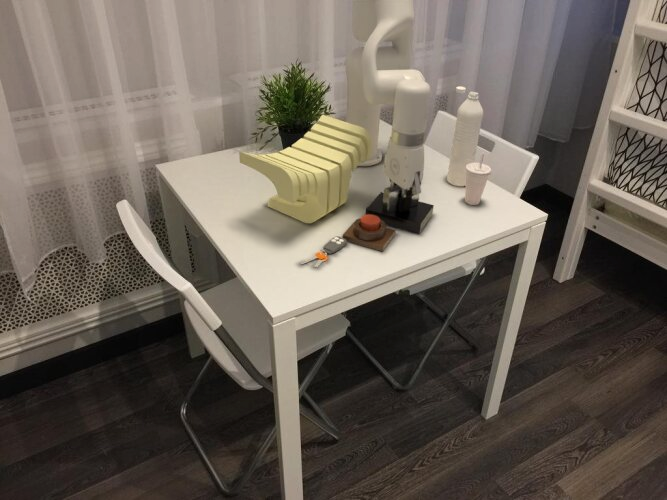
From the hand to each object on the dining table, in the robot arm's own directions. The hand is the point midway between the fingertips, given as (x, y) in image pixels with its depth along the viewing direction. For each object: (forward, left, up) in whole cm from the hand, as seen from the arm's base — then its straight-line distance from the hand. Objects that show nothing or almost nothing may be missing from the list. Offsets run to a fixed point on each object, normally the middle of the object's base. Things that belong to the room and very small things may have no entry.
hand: (400, 206), depth 143 cm
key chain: (-9, -23, -3) cm, 25 cm away
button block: (-3, -12, -3) cm, 13 cm away
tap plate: (0, 0, -3) cm, 3 cm away
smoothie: (+14, +17, -3) cm, 22 cm away
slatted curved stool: (-22, -6, -3) cm, 23 cm away
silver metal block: (0, 0, 0) cm, 0 cm away
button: (-3, -12, 0) cm, 12 cm away
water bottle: (+7, +27, -3) cm, 28 cm away
